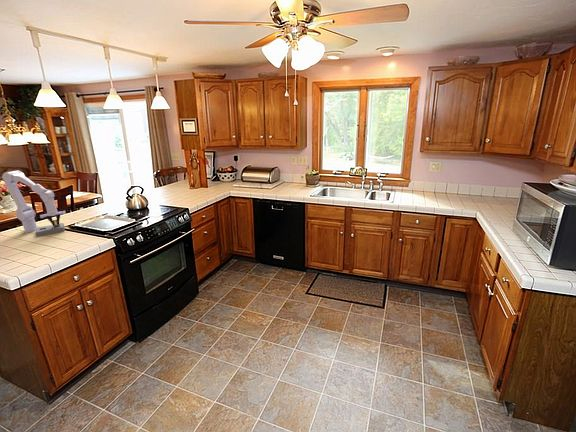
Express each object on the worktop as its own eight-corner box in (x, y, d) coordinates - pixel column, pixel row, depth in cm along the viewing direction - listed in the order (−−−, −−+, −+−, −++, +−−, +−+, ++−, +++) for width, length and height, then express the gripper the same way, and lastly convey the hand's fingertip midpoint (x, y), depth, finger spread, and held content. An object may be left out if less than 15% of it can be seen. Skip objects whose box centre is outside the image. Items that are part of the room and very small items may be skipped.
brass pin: (55, 227, 218) (52, 219, 216) (59, 226, 219) (57, 219, 217) (54, 228, 216) (52, 220, 214) (59, 227, 217) (56, 220, 215)
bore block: (37, 231, 216) (36, 227, 215) (64, 226, 225) (63, 222, 224) (36, 236, 207) (35, 232, 206) (64, 231, 216) (63, 227, 215)
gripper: (37, 210, 206) (43, 228, 210) (63, 206, 214) (68, 224, 218) (38, 208, 211) (44, 226, 215) (63, 204, 219) (68, 221, 223)
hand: (56, 225), depth 217 cm, fingers closed on brass pin, 2 cm apart
